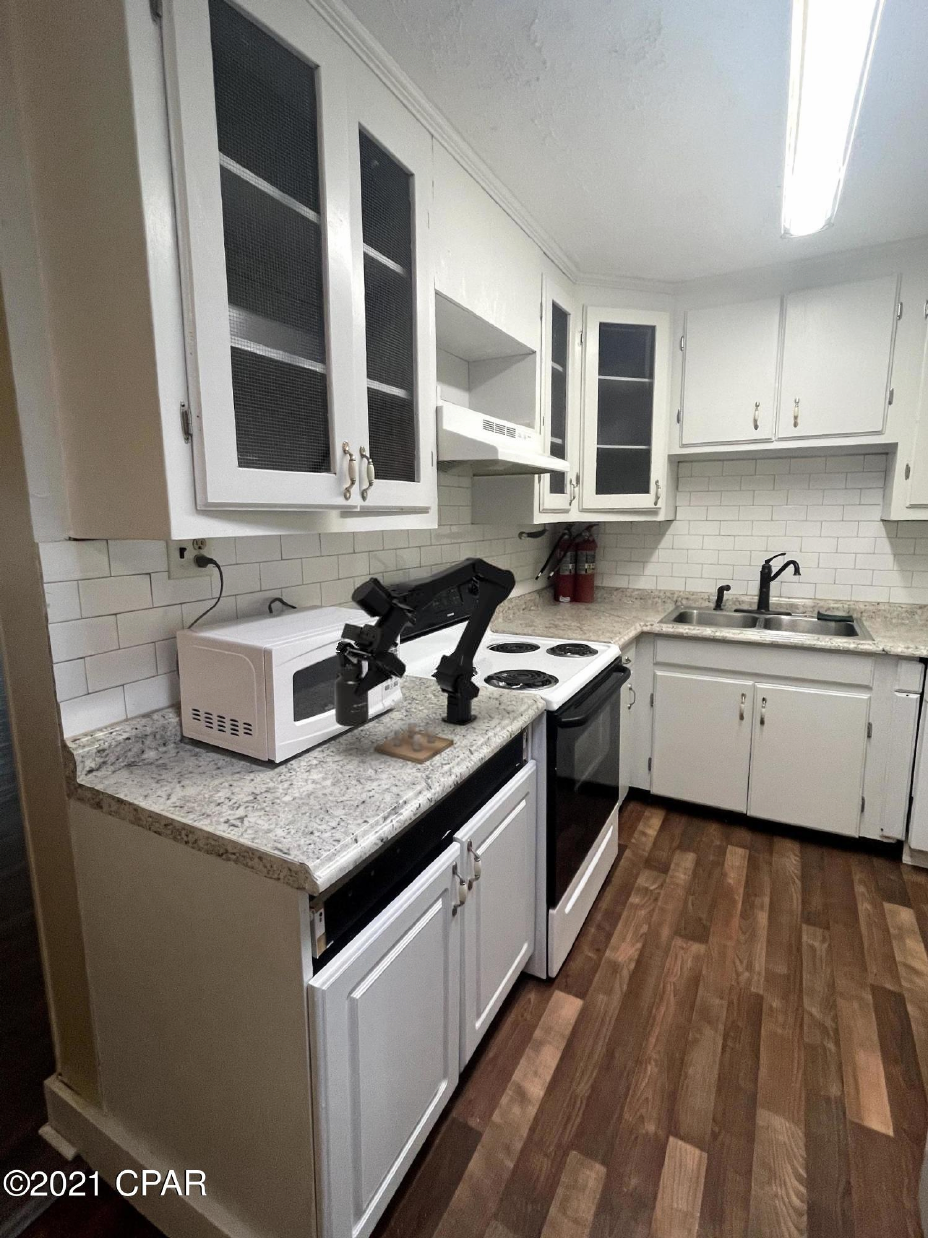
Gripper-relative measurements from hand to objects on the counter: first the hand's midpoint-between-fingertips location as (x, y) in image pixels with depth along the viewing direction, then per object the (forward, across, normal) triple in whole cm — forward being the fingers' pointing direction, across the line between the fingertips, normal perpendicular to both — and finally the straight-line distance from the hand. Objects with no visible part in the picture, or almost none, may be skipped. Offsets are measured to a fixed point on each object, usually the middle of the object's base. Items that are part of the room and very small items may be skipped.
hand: (345, 692), depth 120 cm
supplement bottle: (+4, 0, +6) cm, 7 cm away
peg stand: (+2, +8, +17) cm, 19 cm away
